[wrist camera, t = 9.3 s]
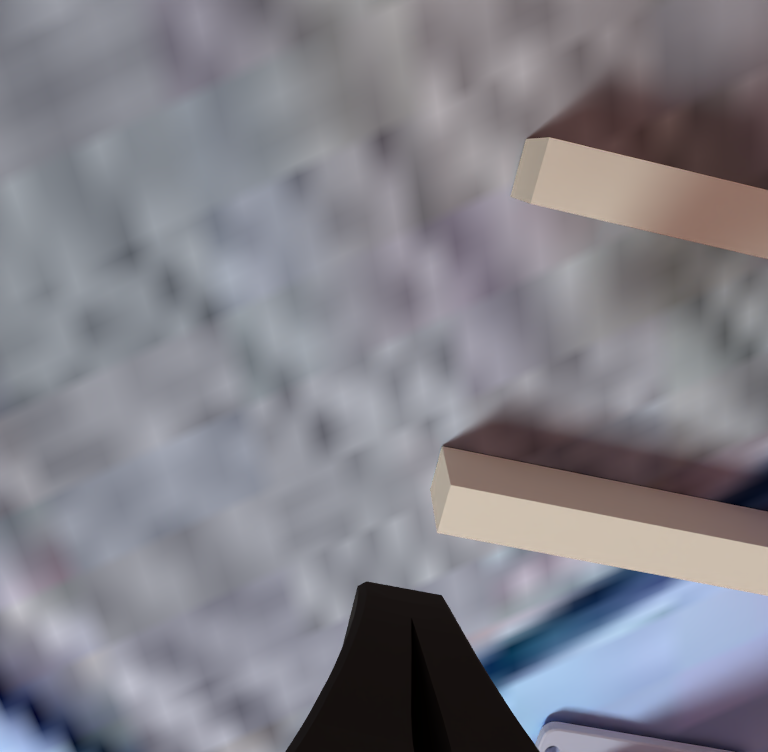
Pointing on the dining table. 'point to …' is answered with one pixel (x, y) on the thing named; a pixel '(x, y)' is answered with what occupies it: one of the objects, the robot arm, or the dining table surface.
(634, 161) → the lane
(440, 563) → the dining table surface
